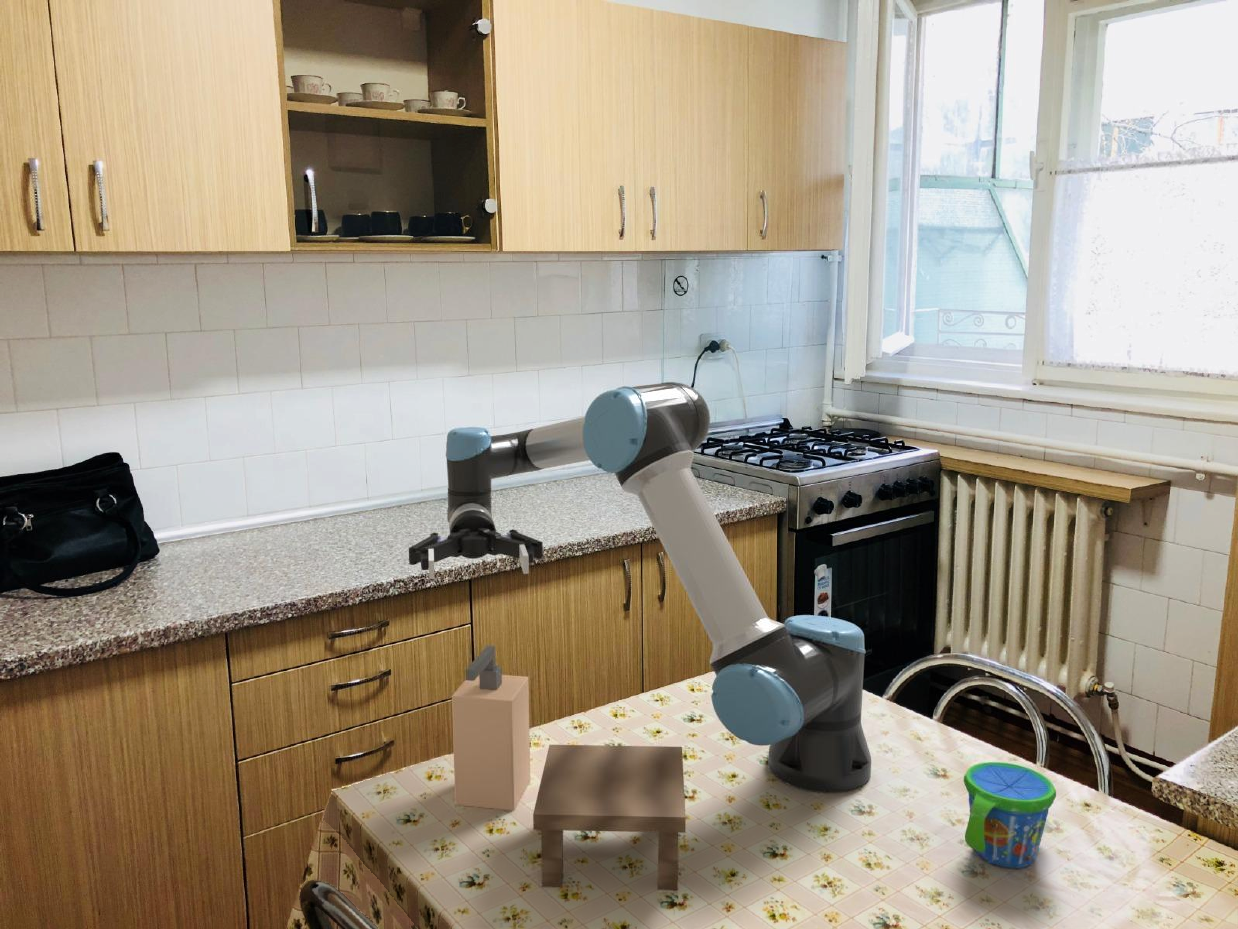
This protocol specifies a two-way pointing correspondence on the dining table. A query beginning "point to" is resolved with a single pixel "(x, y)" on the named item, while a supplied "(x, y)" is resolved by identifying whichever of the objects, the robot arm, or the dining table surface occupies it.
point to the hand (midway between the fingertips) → (479, 567)
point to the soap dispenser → (491, 736)
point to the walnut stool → (611, 800)
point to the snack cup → (1007, 812)
